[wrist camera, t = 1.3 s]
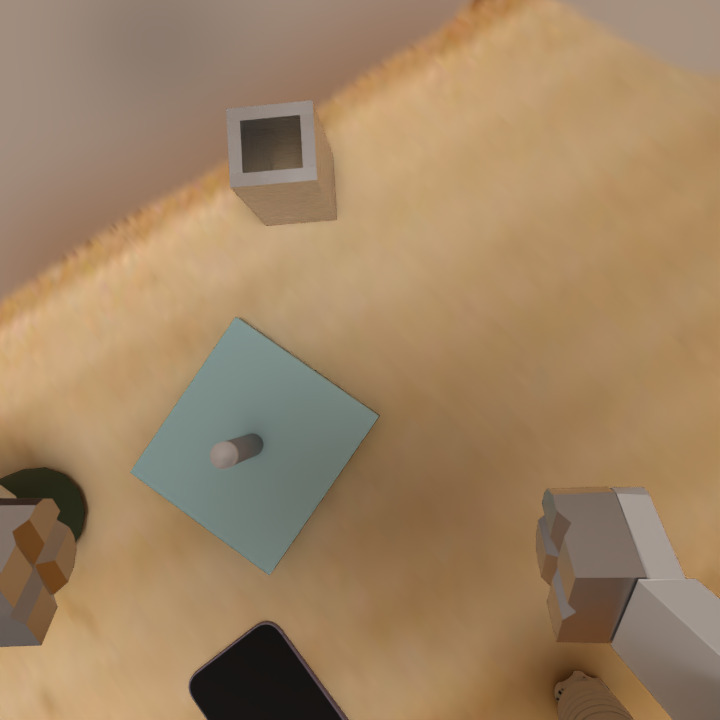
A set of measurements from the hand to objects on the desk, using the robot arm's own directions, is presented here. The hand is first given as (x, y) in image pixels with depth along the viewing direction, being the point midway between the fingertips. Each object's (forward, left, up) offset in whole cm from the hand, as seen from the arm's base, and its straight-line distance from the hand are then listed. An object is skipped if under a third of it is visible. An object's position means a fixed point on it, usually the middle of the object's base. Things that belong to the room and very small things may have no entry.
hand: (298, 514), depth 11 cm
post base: (+6, -6, -29) cm, 31 cm away
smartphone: (+20, +7, -30) cm, 37 cm away
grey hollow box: (-9, -13, -29) cm, 33 cm away
